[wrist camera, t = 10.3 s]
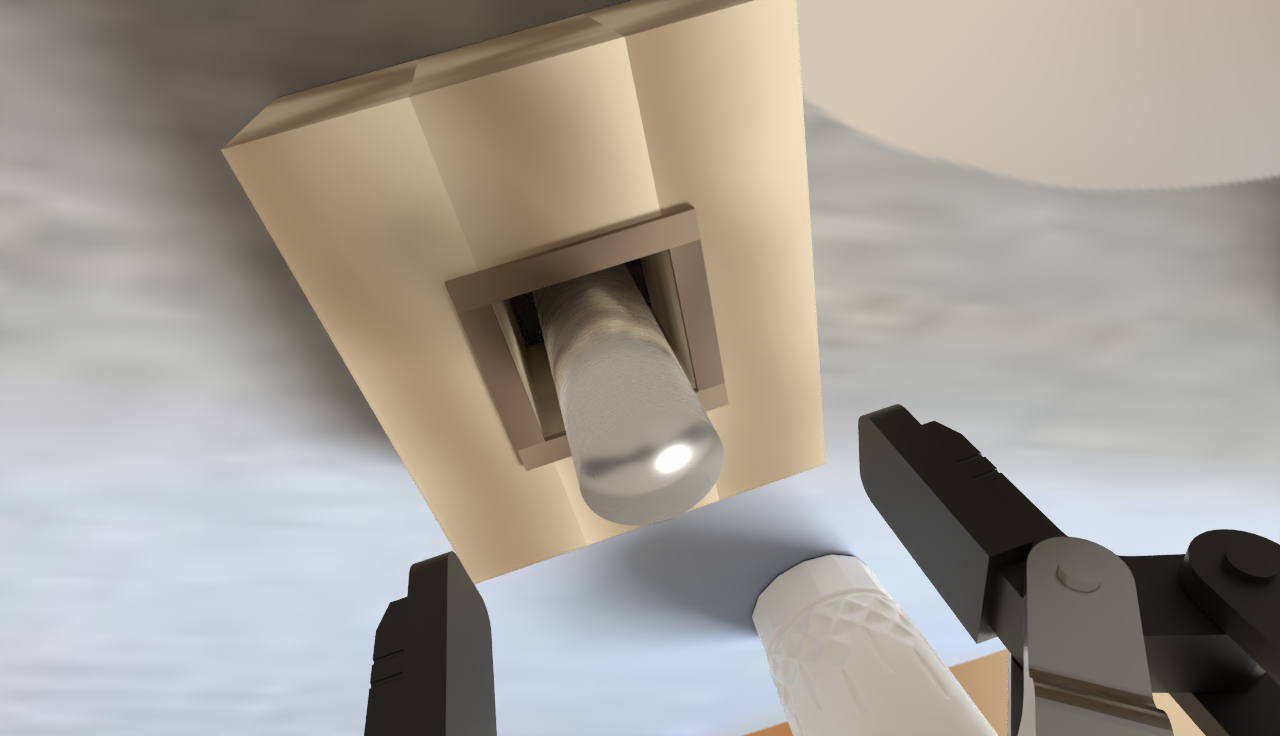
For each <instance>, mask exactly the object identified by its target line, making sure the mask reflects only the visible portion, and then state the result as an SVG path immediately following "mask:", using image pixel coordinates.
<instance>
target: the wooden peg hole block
mask: <svg viewBox="0 0 1280 736" xmlns="http://www.w3.org/2000/svg"><path fill="white" fill-rule="evenodd" d="M799 51H800V50H799V36H798V19H797V3H796V0H631V1H628V2H624V3H620V4H617V5H613V6H610V7H606V8H602V9H599V10H595V11H591V12H588V13H584V14H580V15H577V16H573V17H570V18H566V19H562V20H559V21H555V22H551V23H548V24H544V25H541V26H537V27H533V28H530V29H526V30H522V31H519V32H515V33H512V34H508V35H504V36H501V37H497V38H493V39H490V40H486V41H483V42H479V43H475V44H472V45H468V46H464V47H461V48H457V49H454V50H450V51H446V52H443V53H439V54H435V55H432V56H428V57H425V58H421V59H417V60H414V61H410V62H406V63H403V64H399V65H396V66H392V67H388V68H385V69H381V70H377V71H374V72H370V73H366V74H363V75H359V76H356V77H352V78H348V79H345V80H341V81H337V82H334V83H330V84H327V85H323V86H319V87H316V88H312V89H308V90H305V91H301V92H298V93H294V94H290V95H287V96H283V97H279V98H276V99H274V100H273V101H272V102H271V103H270V104H269V105H268V106H267V107H266V108H265V109H263V110H262V111H261V112H260V113H259V114H258V115H257V116H256V117H255V118H254V119H253V120H252V121H251V122H250V123H249V124H248V125H247V126H245V127H244V128H243V129H242V130H241V131H240V132H239V133H238V134H237V135H236V136H235V137H234V138H233V139H232V140H231V141H230V142H228V143H227V144H226V145H225V146H224V147H223V148H222V149H221V151H222V153H223V155H224V157H225V158H226V160H227V162H228V163H229V165H230V167H231V169H232V170H233V172H234V174H235V175H236V177H237V179H238V181H239V182H240V184H241V186H242V187H243V189H244V191H245V193H246V194H247V196H248V198H249V199H250V201H251V203H252V205H253V206H254V208H255V210H256V211H257V213H258V215H259V217H260V218H261V220H262V222H263V223H264V225H265V227H266V229H267V230H268V232H269V234H270V235H271V237H272V239H273V241H274V242H275V244H276V246H277V247H278V249H279V251H280V253H281V254H282V256H283V258H284V259H285V261H286V263H287V265H288V266H289V268H290V270H291V271H292V273H293V275H294V277H295V278H296V280H297V282H298V283H299V285H300V287H301V289H302V290H303V292H304V294H305V295H306V297H307V299H308V301H309V302H310V304H311V306H312V307H313V309H314V311H315V313H316V314H317V316H318V318H319V319H320V321H321V323H322V325H323V326H324V328H325V330H326V331H327V333H328V335H329V337H330V338H331V340H332V342H333V343H334V345H335V347H336V349H337V350H338V352H339V354H340V355H341V357H342V359H343V361H344V362H345V364H346V366H347V367H348V369H349V371H350V373H351V374H352V376H353V378H354V379H355V381H356V383H357V385H358V386H359V388H360V390H361V391H362V393H363V395H364V397H365V398H366V400H367V402H368V403H369V405H370V407H371V409H372V410H373V412H374V414H375V415H376V417H377V419H378V421H379V422H380V424H381V426H382V427H383V429H384V431H385V433H386V434H387V436H388V438H389V439H390V441H391V443H392V445H393V446H394V448H395V450H396V451H397V453H398V455H399V457H400V458H401V460H402V462H403V463H404V465H405V467H406V469H407V470H408V472H409V474H410V476H411V477H412V479H413V481H414V482H415V484H416V486H417V488H418V489H419V491H420V493H421V494H422V496H423V498H424V500H425V501H426V503H427V505H428V506H429V508H430V510H431V512H432V513H433V515H434V517H435V518H436V520H437V522H438V524H439V525H440V527H441V529H442V530H443V532H444V534H445V536H446V537H447V539H448V541H449V542H450V544H451V546H452V548H453V549H454V551H455V553H456V554H457V556H458V558H459V560H460V561H461V563H462V565H463V566H464V568H465V570H466V572H467V573H468V575H469V577H470V578H471V580H472V582H473V583H474V584H477V583H480V582H483V581H486V580H489V579H492V578H494V577H497V576H500V575H503V574H506V573H509V572H512V571H515V570H518V569H521V568H524V567H527V566H529V565H532V564H535V563H538V562H541V561H544V560H547V559H550V558H553V557H556V556H559V555H562V554H565V553H567V552H570V551H573V550H576V549H579V548H582V547H585V546H588V545H591V544H594V543H597V542H600V541H602V540H605V539H608V538H611V537H614V536H617V535H620V534H623V533H626V532H629V531H632V530H635V529H637V528H640V527H643V526H646V525H641V526H630V525H622V524H617V523H613V522H611V521H608V520H606V519H604V518H602V517H600V516H598V515H597V514H596V513H594V512H593V511H592V510H591V509H590V508H589V507H588V505H587V504H586V503H585V501H584V499H583V497H582V495H581V491H580V487H579V483H578V479H577V475H576V471H575V467H574V463H573V458H572V454H571V450H570V446H569V442H568V438H567V434H566V430H565V425H564V421H563V417H562V413H561V409H560V405H559V401H558V396H557V392H556V388H555V384H554V380H553V376H552V372H551V368H550V363H549V359H548V355H547V351H546V347H545V343H544V342H541V343H538V344H535V345H532V346H528V347H526V344H525V342H524V339H523V336H522V334H521V331H520V328H519V326H518V323H517V320H516V318H515V315H514V312H513V310H512V307H511V304H510V302H509V298H512V297H515V296H518V295H522V294H525V293H528V292H531V291H535V290H538V289H541V288H544V287H547V286H551V285H554V284H557V283H560V282H564V281H567V280H570V279H573V278H577V277H580V276H583V275H586V274H590V273H593V272H596V271H599V270H603V269H606V268H609V267H612V266H616V265H619V264H622V263H625V262H629V261H632V260H635V259H638V258H640V259H641V264H642V268H643V272H644V277H645V281H646V285H647V289H648V294H649V298H650V302H651V307H652V308H649V309H650V311H651V313H652V314H653V316H654V318H655V320H656V322H657V324H658V325H659V327H660V329H661V331H662V333H663V335H664V336H665V338H666V340H667V342H668V344H669V346H670V347H671V349H672V351H673V353H674V355H675V357H676V358H677V360H678V362H679V364H680V366H681V367H682V369H683V371H684V373H685V375H686V377H687V378H688V380H689V382H690V384H691V386H692V388H693V389H694V391H695V393H696V395H697V397H698V399H699V400H700V402H701V404H702V406H703V408H704V410H705V411H706V413H707V415H708V417H709V419H710V421H711V422H712V424H713V426H714V428H715V430H716V432H717V433H718V435H719V437H720V439H721V442H722V446H723V452H724V459H723V466H722V470H721V472H720V475H719V477H718V479H717V481H716V483H715V485H714V486H713V487H712V489H711V490H710V491H709V493H708V494H707V495H706V496H705V497H704V498H703V499H702V500H701V501H700V502H699V503H697V504H696V505H695V506H693V507H692V508H691V509H689V510H687V511H690V510H693V509H696V508H699V507H702V506H705V505H708V504H710V503H713V502H716V501H719V500H722V499H725V498H728V497H731V496H734V495H737V494H740V493H743V492H745V491H748V490H751V489H754V488H757V487H760V486H763V485H766V484H769V483H772V482H775V481H778V480H781V479H783V478H786V477H789V476H792V475H795V474H798V473H801V472H804V471H807V470H810V469H813V468H816V467H818V466H821V465H824V464H826V458H825V442H824V426H823V411H822V395H821V379H820V364H819V348H818V332H817V317H816V301H815V285H814V270H813V254H812V238H811V223H810V207H809V191H808V176H807V160H806V144H805V129H804V113H803V97H802V83H801V66H800V52H799ZM687 511H686V512H687Z"/></svg>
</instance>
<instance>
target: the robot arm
mask: <svg viewBox="0 0 1280 736" xmlns="http://www.w3.org/2000/svg"><path fill="white" fill-rule="evenodd" d="M858 430H859V461H860V476H861V480H862V483H863V486H864V489H865V491H866V493H867V495H868V497H869V499H870V500H871V502H872V503H873V505H874V506H875V507H876V509H877V510H878V511H879V513H880V514H881V515H882V517H883V518H884V519H885V521H886V522H887V524H888V525H889V526H890V528H891V529H892V530H893V532H894V533H895V534H896V536H897V537H898V538H899V540H900V541H901V542H902V544H903V545H904V546H905V548H906V549H907V550H908V552H909V553H910V554H911V556H912V557H913V559H914V560H915V561H916V563H917V564H918V565H919V567H920V568H921V569H922V571H923V572H924V573H925V575H926V576H927V577H928V579H929V580H930V581H931V583H932V584H933V585H934V587H935V588H936V589H937V591H938V592H939V594H940V595H941V596H942V598H943V599H944V600H945V602H946V603H947V604H948V606H949V607H950V608H951V610H952V611H953V612H954V614H955V615H956V616H957V618H958V619H959V620H960V622H961V623H962V624H963V626H964V627H965V629H966V630H967V631H968V633H969V634H970V635H971V637H972V638H973V639H974V641H975V642H976V643H977V644H978V643H981V642H984V641H986V640H989V639H992V638H994V637H997V636H998V637H999V639H1000V640H1001V641H1002V642H1003V644H1004V645H1005V646H1006V648H1007V649H1008V650H1009V656H1008V734H1007V736H1174V734H1173V730H1172V726H1171V723H1170V720H1169V718H1168V716H1167V714H1166V713H1165V711H1163V710H1160V709H1157V708H1156V706H1155V704H1154V700H1153V696H1152V693H1155V692H1156V693H1169V694H1170V695H1171V696H1172V697H1173V698H1174V700H1175V701H1176V702H1177V703H1178V704H1179V705H1180V706H1181V708H1182V709H1183V710H1184V711H1185V712H1186V713H1187V714H1188V716H1189V717H1190V718H1191V719H1192V720H1193V721H1194V723H1195V724H1196V725H1197V726H1198V727H1199V728H1200V729H1201V731H1202V732H1203V733H1204V734H1205V735H1206V736H1280V545H1279V544H1277V543H1276V542H1273V541H1271V540H1269V539H1267V538H1264V537H1261V536H1259V535H1256V534H1252V533H1248V532H1244V531H1238V530H1227V529H1221V530H1212V531H1207V532H1205V533H1202V534H1200V535H1198V536H1197V537H1195V538H1194V539H1193V540H1192V542H1191V543H1190V545H1189V548H1188V550H1187V552H1186V554H1180V555H1154V556H1118V555H1115V554H1114V553H1113V552H1112V551H1110V550H1108V549H1107V548H1105V547H1103V546H1101V545H1099V544H1097V543H1094V542H1091V541H1088V540H1085V539H1080V538H1075V537H1068V536H1067V535H1065V534H1064V533H1063V532H1062V531H1061V530H1060V529H1058V528H1057V527H1056V526H1055V525H1054V524H1053V523H1052V522H1051V521H1050V520H1049V519H1048V518H1047V517H1046V516H1045V515H1044V514H1043V513H1042V512H1041V511H1040V510H1039V509H1038V508H1037V507H1036V506H1035V505H1034V504H1033V503H1032V502H1031V501H1030V500H1029V499H1028V498H1027V497H1026V496H1025V495H1024V494H1023V493H1022V492H1020V491H1019V490H1018V489H1017V488H1016V487H1015V486H1014V485H1013V484H1012V483H1011V482H1010V481H1009V480H1008V479H1007V478H1006V477H1005V476H1004V475H1003V474H1002V473H998V471H997V468H996V467H995V466H994V465H993V464H992V463H991V462H990V461H989V460H988V459H987V458H986V457H982V455H981V453H980V452H979V451H978V450H977V449H976V448H975V447H974V446H973V445H972V444H971V443H970V442H969V441H968V440H967V439H966V438H965V437H964V436H963V435H962V434H960V433H958V432H956V431H954V430H952V429H950V428H948V427H946V426H944V425H942V424H940V423H938V422H936V421H932V422H929V423H926V424H923V425H921V424H920V423H919V422H918V421H917V420H916V419H915V418H914V417H913V416H912V415H911V414H910V413H909V412H908V411H907V410H906V409H905V408H904V407H903V406H901V405H899V404H896V405H893V406H890V407H887V408H884V409H881V410H878V411H875V412H872V413H869V414H866V415H863V416H861V417H860V418H859V422H858ZM373 661H374V665H372V671H371V680H370V683H371V688H370V689H369V697H368V706H367V715H366V724H365V732H364V736H497V732H496V713H495V694H494V675H493V656H492V637H491V626H490V620H489V616H488V612H487V609H486V606H485V603H484V601H483V599H482V597H481V595H480V594H479V592H478V590H477V589H476V587H475V585H474V583H473V582H472V580H471V578H470V577H469V575H468V573H467V572H466V570H465V568H464V566H463V565H462V563H461V561H460V560H459V558H458V556H457V555H456V554H455V553H454V552H453V551H451V552H448V553H445V554H442V555H439V556H436V557H433V558H430V559H427V560H424V561H421V562H418V563H415V564H413V565H412V566H411V568H410V572H409V584H408V597H405V598H402V599H399V600H396V601H393V602H390V604H389V606H388V608H387V610H386V612H385V614H384V616H383V618H382V620H381V622H380V624H379V626H378V628H377V630H376V636H375V645H374V654H373Z"/></svg>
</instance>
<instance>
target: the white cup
mask: <svg viewBox="0 0 1280 736" xmlns="http://www.w3.org/2000/svg"><path fill="white" fill-rule="evenodd" d="M752 619H753V622H754V624H755V627H756V630H757V633H758V636H759V639H760V641H761V644H762V646H763V648H764V651H765V653H766V656H767V660H768V663H769V665H770V674H771V677H772V679H773V682H774V684H775V686H776V688H777V692H778V695H779V699H780V703H781V705H782V707H783V710H784V713H785V715H786V718H787V720H788V723H789V725H790V728H791V731H792V733H793V736H998V735H997V733H996V732H995V731H994V729H993V728H992V726H991V725H990V724H989V722H988V721H987V720H986V719H985V717H984V716H983V715H982V713H981V712H980V711H979V709H978V708H977V706H976V705H975V704H974V703H973V701H972V700H971V699H970V697H969V696H968V694H967V693H966V692H965V690H964V689H963V688H962V687H961V685H960V684H959V682H958V681H957V680H956V678H955V677H954V676H953V674H952V673H951V672H950V670H949V669H948V668H947V666H946V665H945V663H944V662H943V661H942V659H941V658H940V657H939V655H938V654H937V653H936V651H935V650H934V649H933V647H932V646H931V645H930V643H929V642H928V641H927V640H926V638H925V637H924V636H923V635H922V634H921V633H920V631H919V630H918V629H917V628H916V627H915V625H914V623H913V622H912V621H911V619H910V618H909V617H908V615H907V614H906V613H905V612H904V610H903V609H902V608H901V607H900V606H899V605H898V604H897V603H896V602H895V601H893V599H892V598H891V596H890V595H889V593H888V592H887V591H886V589H885V588H884V586H883V585H882V584H881V582H880V581H879V580H878V578H877V577H876V576H875V574H874V573H873V571H872V570H871V569H870V568H869V567H868V566H866V565H865V564H864V563H862V562H861V561H860V560H859V559H857V558H856V557H853V556H842V555H826V556H822V557H818V558H815V559H811V560H807V561H804V562H802V563H800V564H798V565H796V566H794V567H793V568H791V569H789V570H788V571H786V572H784V573H782V574H781V575H779V576H778V577H776V579H775V580H774V581H773V582H772V583H771V584H770V585H769V586H768V587H767V588H766V589H765V590H764V591H763V592H762V593H761V595H760V596H759V598H758V601H757V603H756V606H755V609H754V612H753V615H752Z"/></svg>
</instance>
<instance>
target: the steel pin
mask: <svg viewBox="0 0 1280 736" xmlns="http://www.w3.org/2000/svg"><path fill="white" fill-rule="evenodd" d="M532 293H533V297H534V301H535V305H536V310H537V314H538V318H539V322H540V326H541V330H542V334H543V339H544V343H545V347H546V351H547V355H548V359H549V363H550V368H551V372H552V376H553V380H554V384H555V388H556V392H557V396H558V401H559V405H560V409H561V413H562V417H563V421H564V425H565V430H566V434H567V438H568V442H569V446H570V450H571V454H572V458H573V463H574V467H575V471H576V475H577V479H578V483H579V487H580V491H581V495H582V497H583V499H584V501H585V503H586V504H587V505H588V507H589V508H590V509H591V510H592V511H593V512H594V513H596V514H597V515H598V516H600V517H602V518H604V519H606V520H608V521H611V522H613V523H617V524H622V525H630V526H641V525H650V524H655V523H659V522H663V521H666V520H669V519H671V518H674V517H676V516H678V515H680V514H682V513H684V512H686V511H687V510H689V509H691V508H692V507H693V506H695V505H696V504H697V503H699V502H700V501H701V500H702V499H703V498H704V497H705V496H706V495H707V494H708V493H709V491H710V490H711V489H712V487H713V486H714V485H715V483H716V481H717V479H718V477H719V475H720V472H721V470H722V466H723V459H724V452H723V446H722V442H721V439H720V437H719V435H718V433H717V432H716V430H715V428H714V426H713V424H712V422H711V421H710V419H709V417H708V415H707V413H706V411H705V410H704V408H703V406H702V404H701V402H700V400H699V399H698V397H697V395H696V393H695V391H694V389H693V388H692V386H691V384H690V382H689V380H688V378H687V377H686V375H685V373H684V371H683V369H682V367H681V366H680V364H679V362H678V360H677V358H676V357H675V355H674V353H673V351H672V349H671V347H670V346H669V344H668V342H667V340H666V338H665V336H664V335H663V333H662V331H661V329H660V327H659V325H658V324H657V322H656V320H655V318H654V316H653V314H652V313H651V311H650V309H649V307H648V305H647V303H646V302H645V300H644V298H643V296H642V294H641V292H640V291H639V289H638V287H637V285H636V283H635V281H634V280H633V278H632V276H631V274H630V272H629V270H628V269H627V267H626V265H625V263H622V264H619V265H616V266H612V267H609V268H606V269H603V270H599V271H596V272H593V273H590V274H586V275H583V276H580V277H577V278H573V279H570V280H567V281H564V282H560V283H557V284H554V285H551V286H547V287H544V288H541V289H538V290H535V291H532Z"/></svg>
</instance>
